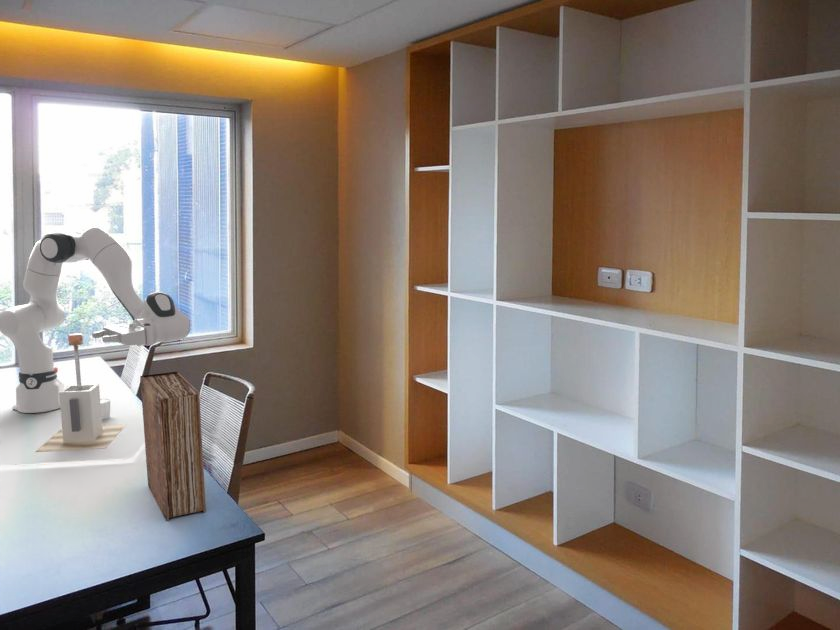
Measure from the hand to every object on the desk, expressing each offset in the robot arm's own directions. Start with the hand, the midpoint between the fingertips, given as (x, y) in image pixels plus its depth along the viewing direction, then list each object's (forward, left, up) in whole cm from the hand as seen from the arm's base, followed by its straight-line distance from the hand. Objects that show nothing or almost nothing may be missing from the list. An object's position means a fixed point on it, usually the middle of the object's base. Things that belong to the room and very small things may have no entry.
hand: (97, 337), depth 222 cm
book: (+55, +32, -33) cm, 72 cm away
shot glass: (-18, -6, -33) cm, 38 cm away
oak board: (+4, -5, -32) cm, 33 cm away
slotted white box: (+5, -5, -31) cm, 32 cm away
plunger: (+4, -5, -22) cm, 23 cm away
